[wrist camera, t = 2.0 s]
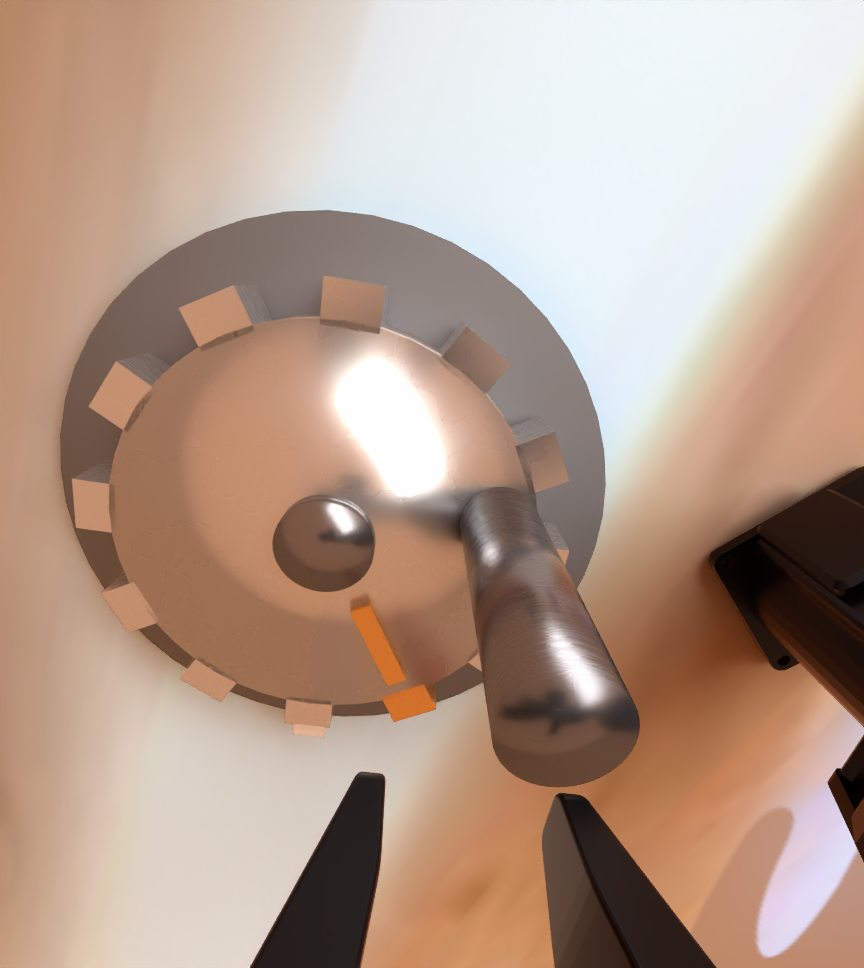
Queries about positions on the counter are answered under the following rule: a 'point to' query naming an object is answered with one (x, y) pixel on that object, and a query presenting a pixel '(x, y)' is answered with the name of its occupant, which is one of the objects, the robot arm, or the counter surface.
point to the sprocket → (352, 527)
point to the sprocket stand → (411, 307)
